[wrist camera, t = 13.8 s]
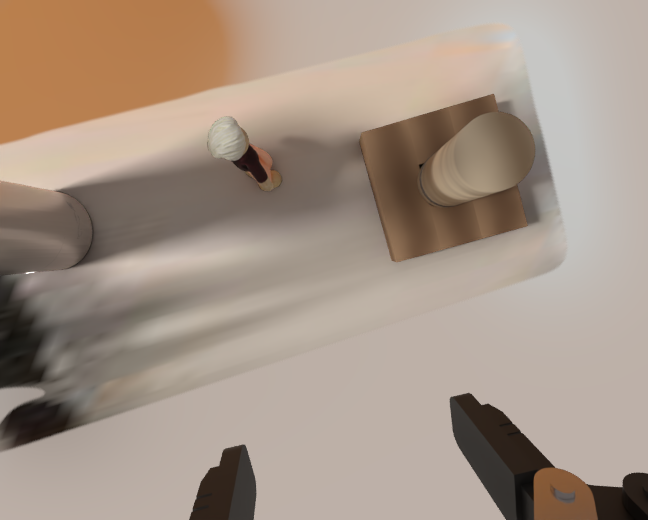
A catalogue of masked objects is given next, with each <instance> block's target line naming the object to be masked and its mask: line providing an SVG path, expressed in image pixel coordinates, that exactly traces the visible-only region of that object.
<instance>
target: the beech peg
mask: <svg viewBox="0 0 648 520" xmlns="http://www.w3.org/2000/svg"><path fill="white" fill-rule="evenodd" d="M534 157H535V144H534V139H533V136H532V134H531V132H530V130H529V129H528V127H527V126H526V125H525V124H524V123H523V122H522V121H521V120H520V119H518V118H517V117H515V116H513V115H511V114H508V113H503V112H490V113H485V114H483V115H480V116H478V117H476V118H475V119H473V120H472V121H471V122H469V123H468V124H467V125H466V126H465V127H464V128H463V129H462V130H460V131H459V132H458V133H457V134H456V135H455V136H454V137H453V138H452V139H450V140H449V141H448V142H447V143H446V144H445V145H444V146H443V147H441V148H440V149H439V150H438V151H437V152H436V153H434V154H433V155H432V156H431V157H429V158H428V159H427V161H426V162H425V163H424V164H423V165H422V167H421V169H420V171H419V174H418V180H417V183H418V189H419V192H420V194H421V195H422V197H423V198H424V199H425V200H426V201H427V202H428V203H429V204H431V205H433V206H436V207H440V208H448V207H453V206H457V205H460V204H462V203H465V202H468V201H471V200H474V199H478V198H481V197H484V196H487V195H490V194H493V193H497V192H500V191H503V190H506V189H509V188H511V187H513V186H515V185H516V184H518V183H519V182H520V181H522V180H523V179H524V178H525V176H526V175H527V174H528V172H529V171H530V169H531V167H532V164H533V161H534Z"/></svg>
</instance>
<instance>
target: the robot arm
mask: <svg viewBox="0 0 648 520" xmlns="http://www.w3.org/2000/svg"><path fill="white" fill-rule="evenodd" d="M91 241H92V224H91V220H90V217H89V215H88V213H87V211H86V210H85V208H84V207H83V206H82V205H81V204H80V203H79V202H78V201H77V200H76V199H74V198H73V197H71V196H70V195H67V194H64V193H61V192H56V191H51V190H46V189H40V188H35V187H31V186H26V185H21V184H15V183H10V182H5V181H0V275H11V274H21V273H33V272H44V271H54V270H63V269H66V268H70V267H71V266H73V265H75V264H77V263H78V262H79V261H80V260H81V259H83V257H84V256H85V255H86V253H87V252H88V249H89V247H90V245H91ZM450 408H451V418H452V426H453V433H454V437H455V440H456V442H457V444H458V446H459V448H460V450H461V451H462V453H463V454H464V456H465V457H466V459H467V461H468V462H469V464H470V465H471V467H472V468H473V470H474V471H475V473H476V474H477V476H478V477H479V479H480V480H481V482H482V483H483V485H484V487H485V488H486V489H487V491H488V493H489V494H490V496H491V497H492V499H493V500H494V502H495V503H496V505H497V507H498V508H499V510H500V511H501V513H502V514H503V515H504V517H505V519H506V520H648V474H646V473H631V474H629V475H627V476H625V477H624V479H623V488H622V487H607V486H594V485H588V484H585V482H584V481H582V480H581V479H580V478H579V477H577V476H575V475H574V474H572V473H570V472H568V471H565V470H562V469H558V468H555V467H554V466H553V465H552V464H551V463H550V461H549V460H548V459H547V458H546V457H545V456H544V455H543V454H542V453H541V452H540V451H539V450H538V449H537V448H536V447H535V446H534V445H533V444H532V443H531V441H530V440H529V439H528V438H527V437H526V436H525V435H524V434H523V433H521V432H520V430H519V429H518V428H517V427H516V426H515V425H514V424H512V422H511V421H510V419H509V418H508V417H507V416H506V415H505V414H504V413H503V412H502V411H500V410H498V409H497V408H495V407H493V406H491V405H490V404H485V405H481V404H480V403H479V402H478V401H477V400H476V399H475V398H474V396H473V395H472V394H470V393H467V394H462V395H458V396H454V397H451V398H450ZM255 501H256V481H255V476H254V473H253V469H252V466H251V462H250V459H249V455H248V451H247V448H246V446H245V445H239V446H235V447H231V448H226V449H224V451H223V453H222V457H221V461H220V465H219V466H218V467H213V468H210V470H209V471H208V473H207V474H206V475H205V477H204V478H203V480H202V481H201V483H200V487H199V490H198V493H197V499H196V500H195V503H194V506H193V512H192V513H191V516H190V519H189V520H253V519H254V510H255Z"/></svg>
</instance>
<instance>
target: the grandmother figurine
mask: <svg viewBox="0 0 648 520" xmlns="http://www.w3.org/2000/svg"><path fill="white" fill-rule="evenodd" d="M207 145H208V150H209V151H210V152H211V154H212V155H213V156H214V157H215V158H218V159H220V158H224V159H227V160H231V161H232V162H233V163H234V164H235V165H236V166H237V167H238V168H240V169H241V170H243V171H245V173H246V174H247V175H248V176H250V177H253V178H254V179H255V180H256V181H257V183H258V185H259V187H260V189H262V190H264V191H271V190H272V189H273V188H275V187H278V186H279V185H280V184H281V181H282V179H281V176H280V174H279V173H278V172H277V171H275V170H271V171H270V169H271V166H272V158H271V156H270V155H269V154H268V153H267V152H265V151H264V150H262V149H260V148H257V147H255V146H254V145H251V144H249V139H248V136H247V134H246V132H245V131H244V130H243V129H242V128H241V127H240V126H239V125H238V123H237V121H236V120H235V119H234V118H232V117H222V118H220V119H219V120H217V121H216V122H215V123H214V124H213V125H212V127H211V129H210V131H209V134H208V142H207Z"/></svg>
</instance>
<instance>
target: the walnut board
mask: <svg viewBox="0 0 648 520" xmlns="http://www.w3.org/2000/svg"><path fill="white" fill-rule="evenodd" d="M490 112H498V108H497V104H496V100H495V96H494V94H491V95H488V96H485V97H481V98H478V99H474V100H471V101H468V102H464V103H461V104H457V105H454V106H451V107H447V108H444V109H440V110H437V111H434V112H430V113H427V114H423V115H420V116H417V117H413V118H410V119H407V120H403V121H400V122H396V123H393V124H390V125H386V126H383V127H379V128H376V129H373V130H369V131H366V132H362V133H361V137H360V141H359V143H360V146H361V150H362V154H363V157H364V161H365V165H366V168H367V172H368V176H369V179H370V183H371V187H372V190H373V194H374V198H375V201H376V205H377V209H378V212H379V216H380V219H381V223H382V227H383V230H384V234H385V238H386V241H387V245H388V249H389V252H390V256H391V260H392V261H394V262H400V261H403V260H407V259H410V258H414V257H418V256H421V255H425V254H428V253H432V252H436V251H439V250H443V249H446V248H450V247H454V246H457V245H461V244H464V243H468V242H472V241H475V240H479V239H482V238H486V237H490V236H493V235H497V234H500V233H504V232H508V231H511V230H515V229H518V228H522V227H526V226H528V225H527V221H526V217H525V213H524V209H523V206H522V202H521V198H520V194H519V190H518V186H517V184H516V185H515V186H513V187H511V188H509V189H506V190H503V191H500V192H497V193H493V194H490V195H487V196H484V197H481V198H478V199H474V200H471V201H468V202H465V203H462V204H460V205H457V206H453V207H448V208H440V207H436V206H433V205H430V206H429V203H428V202H427V201H426V200H425V199H424V198H423V197H422V195H421V194H420V192H419V189H418V183H417V180H418V174H419V171H420V169H421V167H422V165H423V164H424V163H425V162H426V161H427V159H428V158H429V157H431V156H432V155H433V154H434V153H436V152H437V151H438V150H439V149H440V148H441V147H443V146H444V145H445V144H446V143H447V142H448V141H449V140H450V139H452V138H453V137H454V136H455V135H456V134H457V133H458V132H459V131H460V130H462V129H463V128H464V127H465V126H466V125H467V124H468V123H469V122H471V121H472V120H473V119H475V118H476V117H478V116H480V115H483V114H485V113H490Z"/></svg>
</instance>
